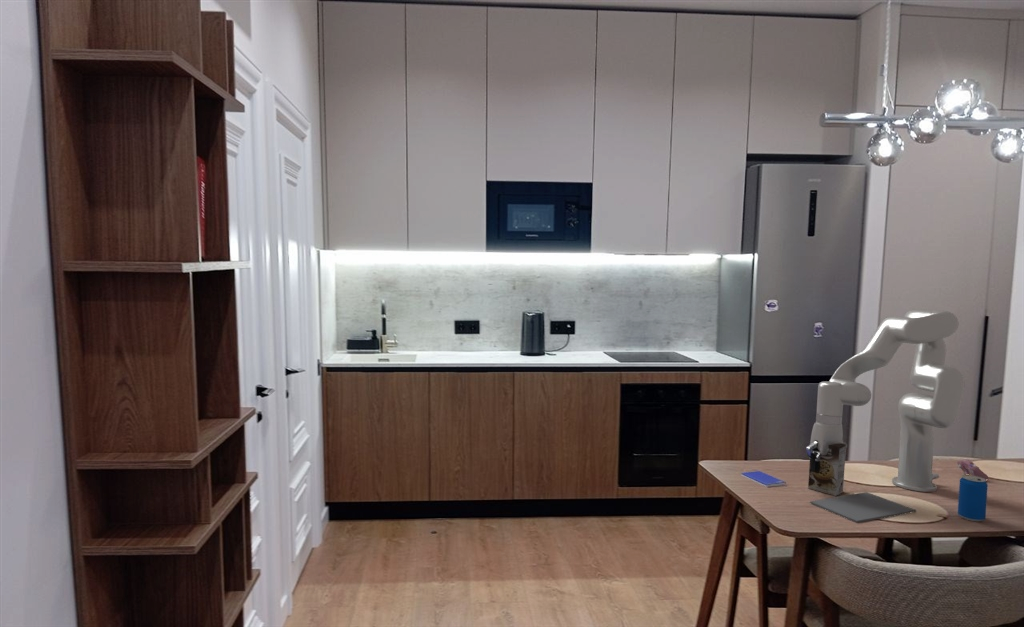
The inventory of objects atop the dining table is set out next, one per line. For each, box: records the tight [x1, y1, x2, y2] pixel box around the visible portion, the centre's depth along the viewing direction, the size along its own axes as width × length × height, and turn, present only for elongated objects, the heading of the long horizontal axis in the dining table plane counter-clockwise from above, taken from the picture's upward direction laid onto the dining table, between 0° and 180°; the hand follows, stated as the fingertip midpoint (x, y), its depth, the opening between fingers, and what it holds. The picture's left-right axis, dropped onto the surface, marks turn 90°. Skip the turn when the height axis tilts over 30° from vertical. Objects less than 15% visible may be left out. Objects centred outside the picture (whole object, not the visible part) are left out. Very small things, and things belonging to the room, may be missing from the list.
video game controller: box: [957, 459, 989, 480], centre depth 216 cm, size 10×5×7 cm, turn 172°
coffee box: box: [807, 443, 847, 497], centre depth 198 cm, size 9×6×16 cm
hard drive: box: [741, 470, 787, 488], centre depth 208 cm, size 2×8×12 cm
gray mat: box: [809, 491, 916, 524], centre depth 184 cm, size 25×16×1 cm, turn 112°
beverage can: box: [957, 474, 988, 522], centre depth 177 cm, size 6×6×12 cm
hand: (825, 470), depth 198 cm, fingers open, 9 cm apart
